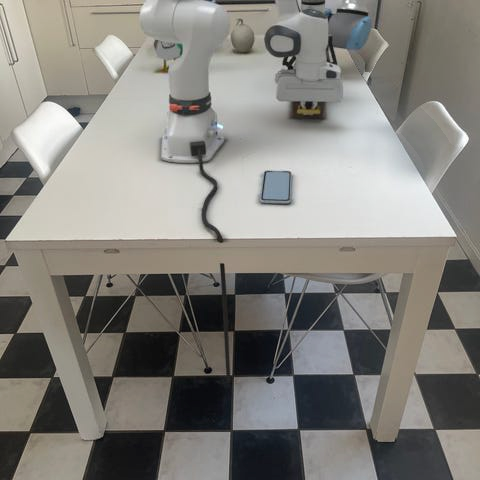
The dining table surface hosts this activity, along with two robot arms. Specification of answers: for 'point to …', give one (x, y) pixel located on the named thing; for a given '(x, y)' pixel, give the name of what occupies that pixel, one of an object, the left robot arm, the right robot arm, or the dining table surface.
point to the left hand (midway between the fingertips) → (308, 114)
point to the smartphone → (276, 187)
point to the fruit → (242, 37)
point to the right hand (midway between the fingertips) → (308, 86)
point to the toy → (167, 51)
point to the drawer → (308, 110)
